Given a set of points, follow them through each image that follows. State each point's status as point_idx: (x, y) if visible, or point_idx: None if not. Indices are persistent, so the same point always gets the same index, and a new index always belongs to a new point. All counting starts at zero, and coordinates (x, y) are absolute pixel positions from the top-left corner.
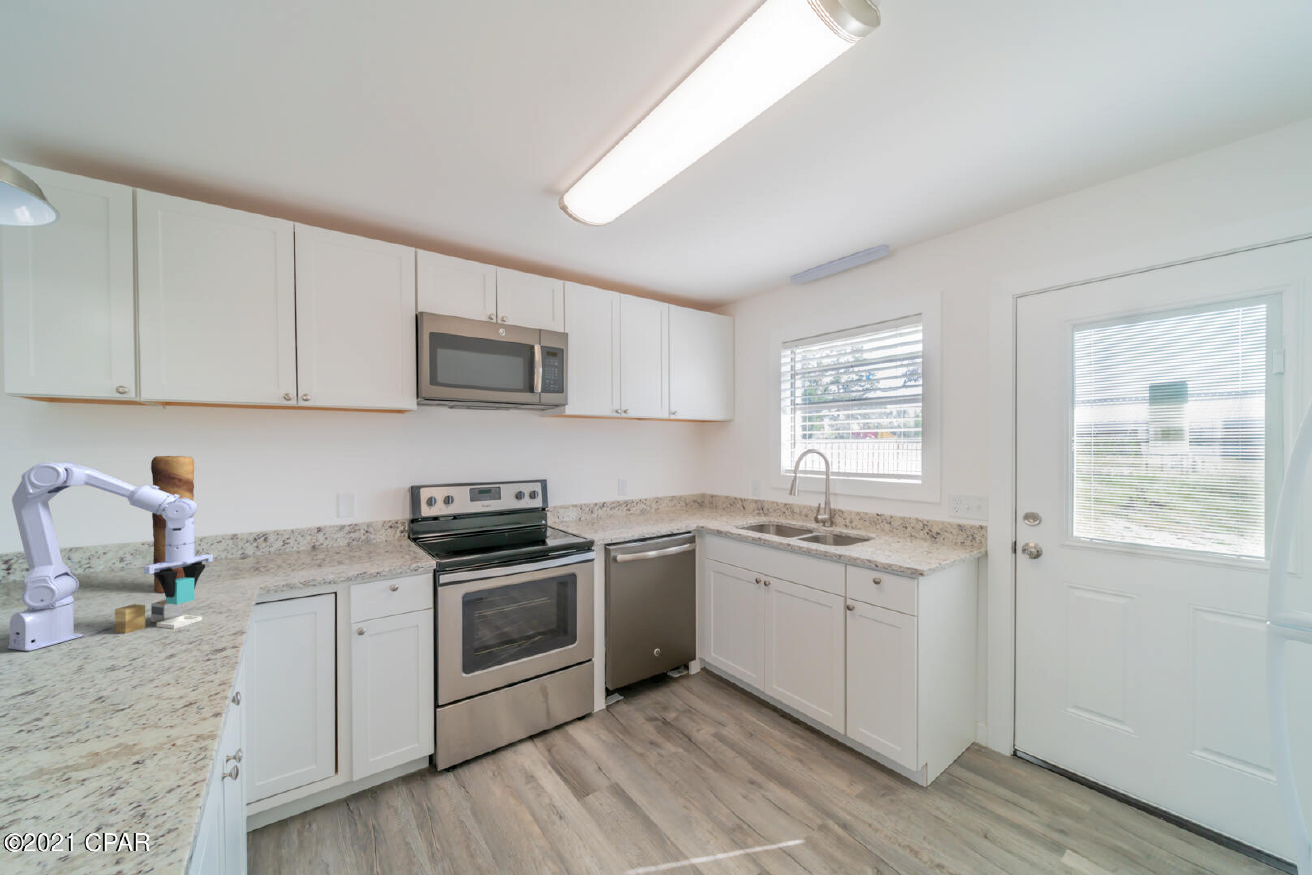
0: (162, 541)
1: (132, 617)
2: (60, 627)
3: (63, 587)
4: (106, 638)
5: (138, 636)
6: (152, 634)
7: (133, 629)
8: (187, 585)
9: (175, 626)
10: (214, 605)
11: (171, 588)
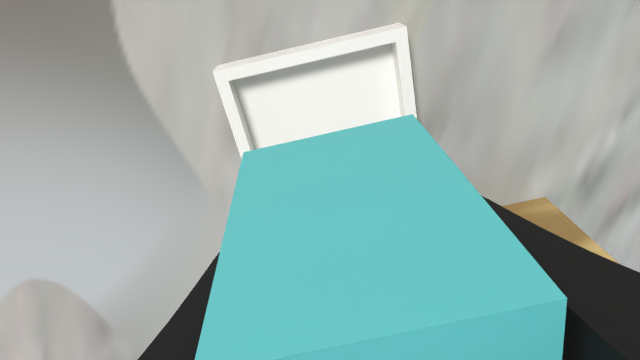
0: None
1: None
2: None
3: None
4: (622, 190)
5: (567, 58)
6: (519, 16)
7: (513, 210)
8: (327, 248)
9: (393, 26)
10: (79, 347)
11: (555, 241)
